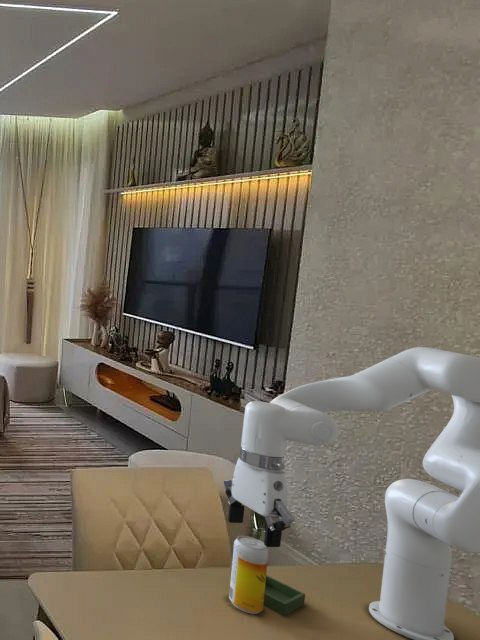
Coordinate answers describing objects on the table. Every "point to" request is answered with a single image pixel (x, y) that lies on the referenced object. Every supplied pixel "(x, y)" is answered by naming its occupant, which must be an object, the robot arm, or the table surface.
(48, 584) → the table surface
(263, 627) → the table surface
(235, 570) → the beer can
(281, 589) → the can tray
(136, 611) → the table surface
